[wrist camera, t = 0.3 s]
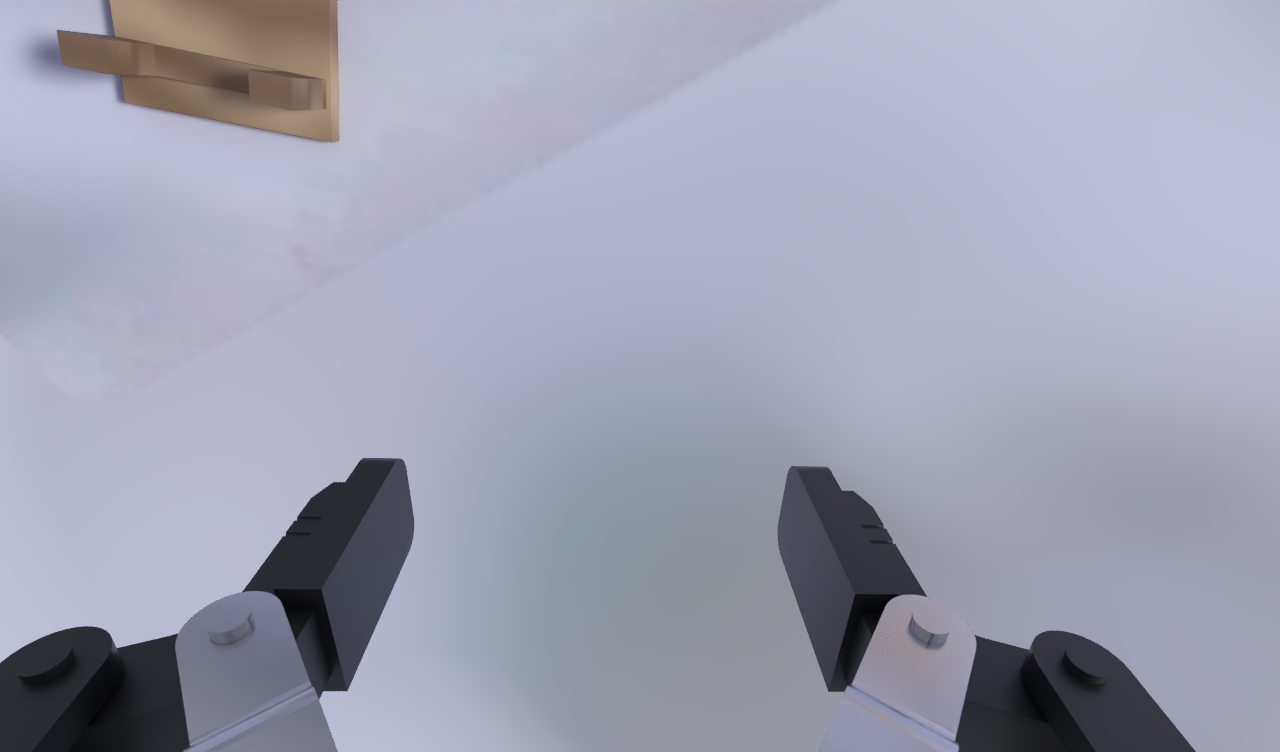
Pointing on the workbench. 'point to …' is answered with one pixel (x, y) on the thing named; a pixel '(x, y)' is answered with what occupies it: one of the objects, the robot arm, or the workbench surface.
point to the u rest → (223, 60)
